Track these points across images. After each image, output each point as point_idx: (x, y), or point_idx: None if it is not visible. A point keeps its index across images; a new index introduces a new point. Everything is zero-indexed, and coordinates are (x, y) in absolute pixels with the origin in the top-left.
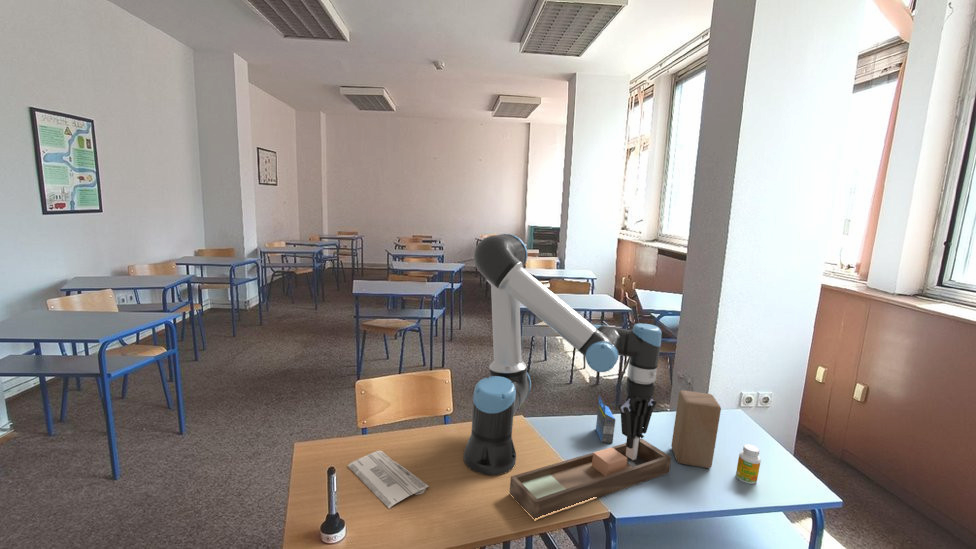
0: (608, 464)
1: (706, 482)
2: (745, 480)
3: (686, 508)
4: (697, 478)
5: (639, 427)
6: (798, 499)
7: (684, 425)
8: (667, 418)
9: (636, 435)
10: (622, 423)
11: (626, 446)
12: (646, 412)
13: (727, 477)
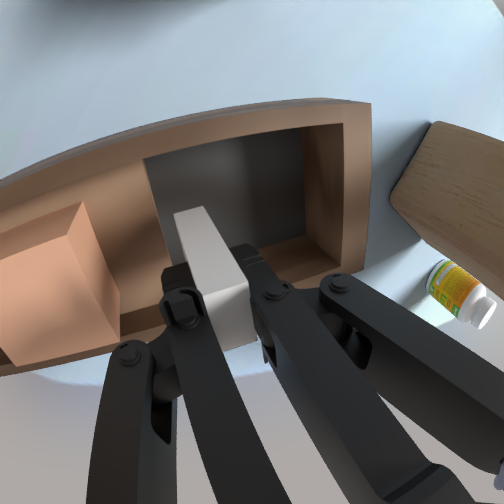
0: (16, 363)
1: (372, 285)
2: (429, 291)
3: (240, 370)
4: (370, 269)
5: (293, 401)
6: (434, 323)
7: (500, 274)
8: (491, 21)
9: (256, 325)
10: (99, 476)
11: (237, 134)
12: (455, 432)
13: (420, 269)
